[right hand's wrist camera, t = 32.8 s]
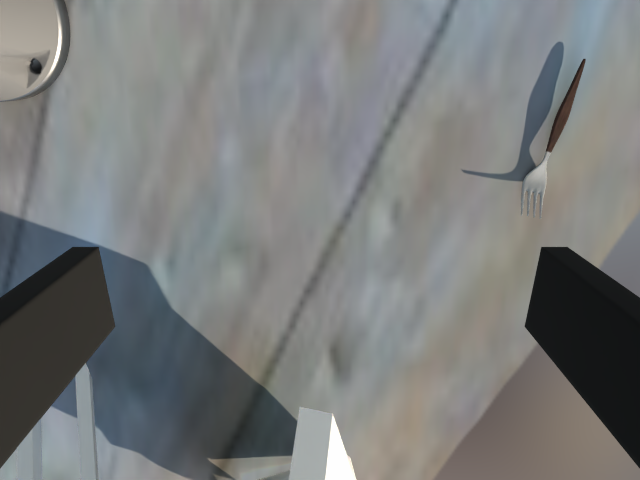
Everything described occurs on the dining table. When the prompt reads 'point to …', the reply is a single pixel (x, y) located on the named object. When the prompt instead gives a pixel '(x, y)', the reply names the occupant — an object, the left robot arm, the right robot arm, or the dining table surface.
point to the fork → (549, 148)
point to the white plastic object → (304, 476)
